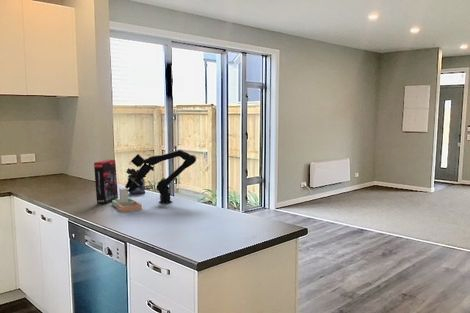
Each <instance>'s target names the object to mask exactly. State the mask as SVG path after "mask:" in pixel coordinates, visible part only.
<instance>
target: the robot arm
mask: <svg viewBox="0 0 470 313" xmlns="http://www.w3.org/2000/svg"><path fill="white" fill-rule="evenodd" d="M177 157H178V158H181V159H182V160H184V161H183V162H182V164H181V165H180V166H178V167H177V168H176V169H175V170H174V171H173V172H172V173H171V174H170V175H169V176H168V177H166V178H165V177H162V178H161V179H160V181H158V182H157V185H156V190H157V191H158V192H159V200H160V201H158V203H161V204H169V203H173V201H172V200H171V187H169V185H170V184H171V183H172V182H173V181H174V180H175V179H176V178H177V177H178V176H180V175H181V173H182V172H183V171H185V170H186V169H187V168H189V167H190V166H192V165H193V164H195V163H196V162H197V157H196V155H194V154H190V153H188V152H186V151H184V150H182V149H178V150H175V151H171V152H168V153H165V154H159V155H152V156H149V157H148V158H143V157H142V156H141V155H140V153H138V154H136V155H135V156H134V157H133V158H132V159H131V161H130V162H131V163H132V164H133V165H134V166H135V167H136V168H139V169H137V170H136V169H135V168H129V167H127V169H126V172H125V173H126V174H128V176H127V183H126V184H125V186H124V187H126V188H127V189H128V193H129V192H130V191H132V190H134V189H136V188H139V187H140V186H141V187H142V185H143V182H142V181H141V180H142V179H144V178H146V177H147V175H148V174H149V172H150V171H152V172H154V171H155V169H154V168H155V165H157V164H159V163H161V162H163V161H166V160H170V159H174V158H177ZM129 187H130V188H129Z"/></svg>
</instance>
